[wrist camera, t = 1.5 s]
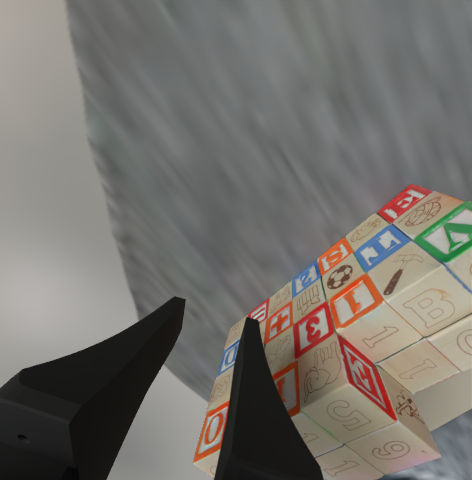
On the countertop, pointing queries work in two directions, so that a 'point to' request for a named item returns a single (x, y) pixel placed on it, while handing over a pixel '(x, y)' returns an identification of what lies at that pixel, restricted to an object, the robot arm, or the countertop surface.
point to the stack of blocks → (365, 339)
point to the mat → (445, 399)
